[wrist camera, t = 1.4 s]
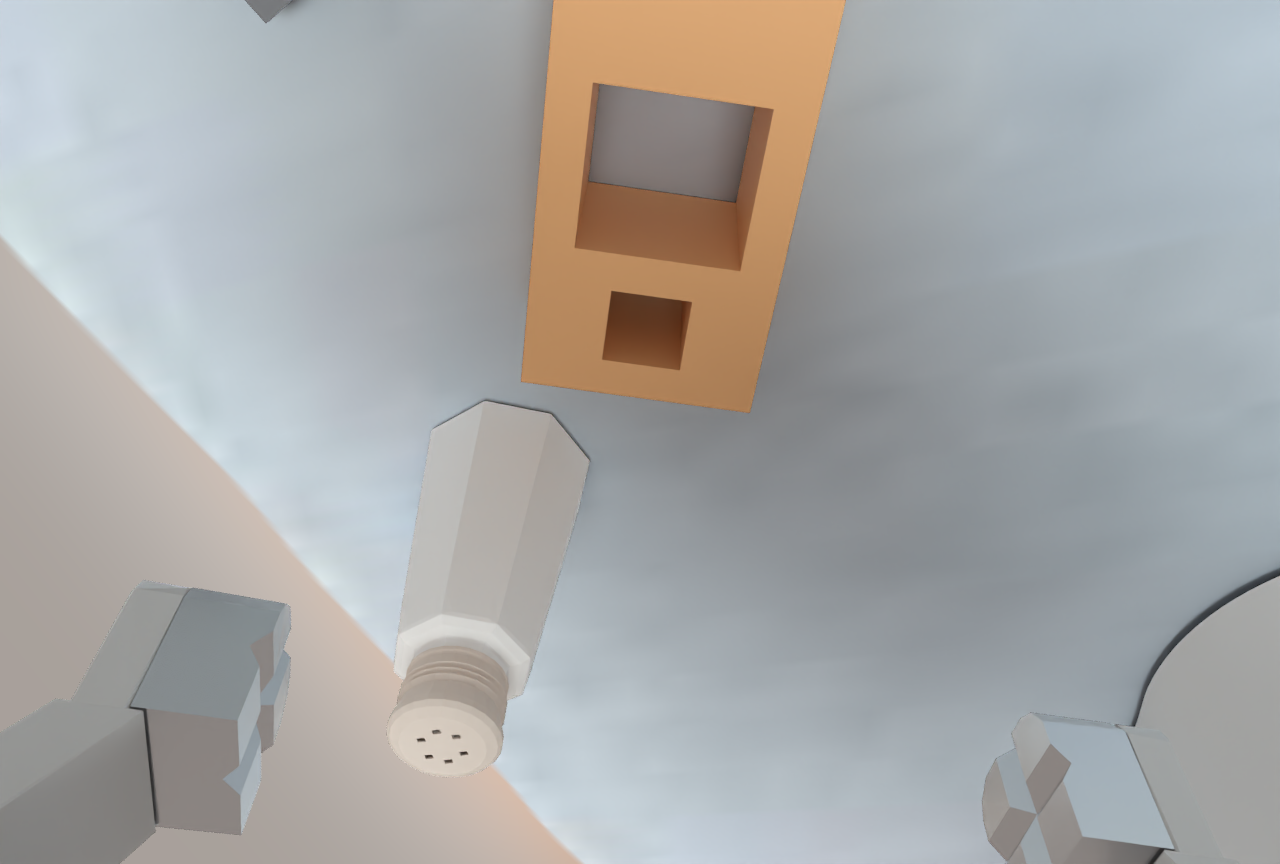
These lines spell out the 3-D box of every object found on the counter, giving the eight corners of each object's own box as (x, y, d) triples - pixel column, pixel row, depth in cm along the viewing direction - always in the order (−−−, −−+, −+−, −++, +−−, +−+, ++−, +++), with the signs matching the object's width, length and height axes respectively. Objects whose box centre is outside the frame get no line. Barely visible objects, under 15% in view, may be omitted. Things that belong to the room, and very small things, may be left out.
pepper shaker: (607, 523, 37) (577, 808, 28) (449, 541, 38) (370, 824, 29) (571, 386, 34) (525, 656, 25) (400, 409, 34) (295, 679, 25)
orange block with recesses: (581, -157, 25) (564, -127, 22) (843, -115, 25) (864, -80, 22) (539, 306, 32) (520, 381, 29) (744, 335, 32) (749, 412, 29)
